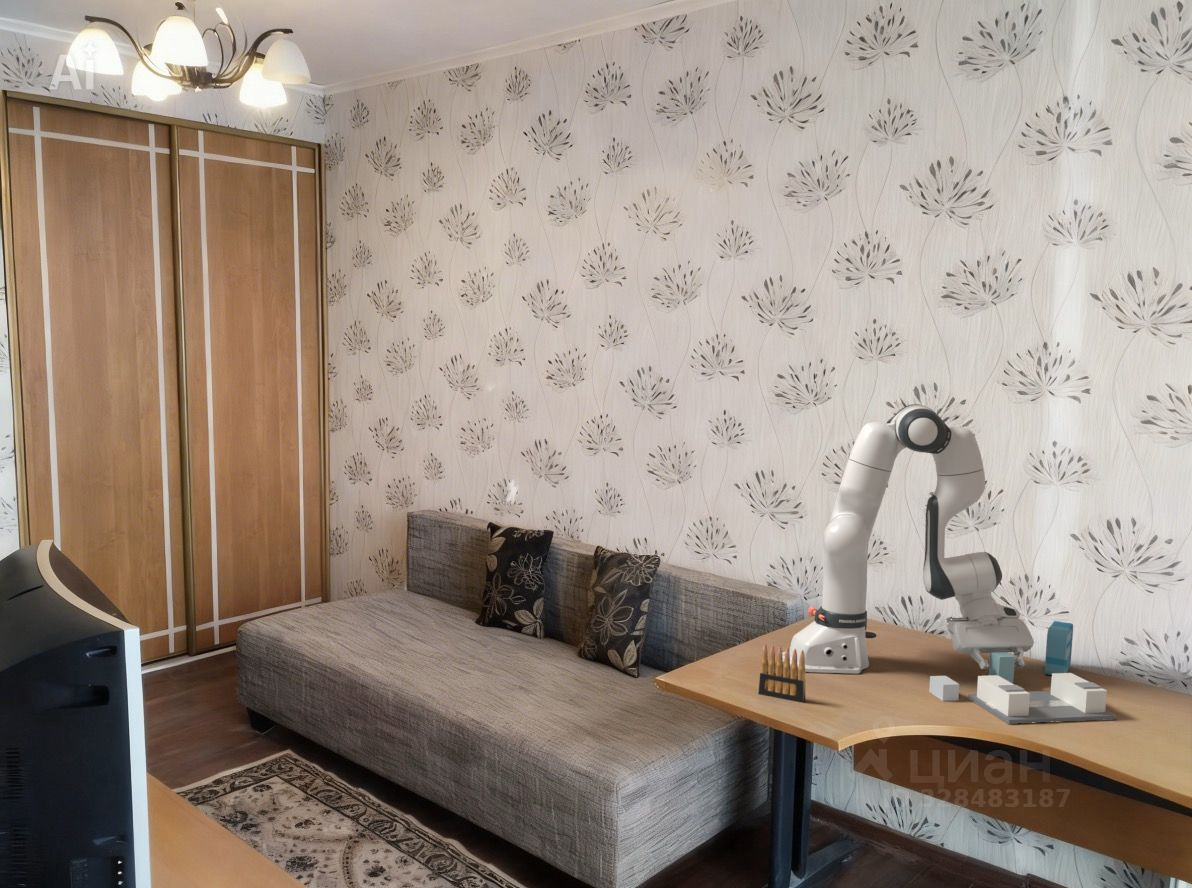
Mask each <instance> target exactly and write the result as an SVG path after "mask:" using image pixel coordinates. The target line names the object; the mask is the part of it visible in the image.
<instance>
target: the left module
mask: <svg viewBox="0 0 1192 888" xmlns="http://www.w3.org/2000/svg"><path fill="white" fill-rule="evenodd" d="M1028 692H1029V691H1026V690H1025V688H1023V687H1022V686H1020V685H1017V684H1014V683H1013V684H1012V683H1010V682H1009V681H1007V680H1005V679H1003V678H1002V677H1000V676H998V675H992V676H989V675H978V676H977V689H976V694H977V697H978V698H979V699H981V700H982V701H984V702H986V703H988V704H990V705H991V706H993V707H994V708H996V709H997V710H998V711H1000V712H1002V713H1003V714H1005V715H1006V716H1028V714H1029V699H1030V693H1028Z"/></svg>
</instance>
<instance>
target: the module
mask: <svg viewBox="0 0 1192 888" xmlns="http://www.w3.org/2000/svg"><path fill="white" fill-rule="evenodd" d="M1015 660H1016V656H1015V655H1014V654H1013V655H1012V654H1011V653H1010V652H990V653H989V667H988V676H992V675H998V676H1000V677H1002V678H1003V679H1005V680H1007V681H1009V682H1010V683H1012V684H1014V676H1015Z"/></svg>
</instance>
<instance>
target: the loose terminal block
mask: <svg viewBox="0 0 1192 888" xmlns="http://www.w3.org/2000/svg"><path fill="white" fill-rule="evenodd" d="M928 687H929V690H928V691H929V693H930V694H931V693H932V695H933V696H935V697H936V698H938V699H939V700H941V702H949V701H950V702H951V701H953V702H955V701H959V695H960V683H958V682H957V681H955V680H954V679H951V678H950V677H949V676H946V675H929V686H928Z"/></svg>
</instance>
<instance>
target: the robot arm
mask: <svg viewBox="0 0 1192 888" xmlns="http://www.w3.org/2000/svg"><path fill="white" fill-rule="evenodd" d="M904 449H909V450H911V451H913V452H915V453H925V454H931V455H932V457H933V461H934V463H935V471H936V476H937V477H936V478H937V479H936V487H935V490H934V492H933V495H931V496H930V497H929V498H928V499H927V503H926V509H925V510H926V511H925V531H924V532H925V536H924V539H925V540H924V562H923V570H922V580H923V581H922V582H923V585H924V589H925V591H926V592H927V593H928V594H929V595H931V596H933V597H935V598H936V599H938V600H942V601H943V600H946V599H950V598H954V599H955V600H956V601H957V602H958V605H959V612H960V614H961V616H962V617H950V618H949V619H948V620H947V621H946V627H947V629H948V631H949V634H950V636H949V637H950V639H951V644H952V647H953V649H954V651H955V653H957V654H958V655H964V654H965V655H967V654H969V655H970V658H972V659H973V660H974V662H976V663H977V664H978V666H979V668H980V670H987V669H989V664H990V662H988V661H989V660H988V659H984V658H983V656H981V654H990V652H1007V653H1013V656H1015V657H1016V658H1015V665H1014V667H1015V668H1017V669H1020V668H1023V667H1024V666H1025V662H1024V659H1023V658H1024V653H1025V652H1029V650H1031V649H1032V648H1033V646H1034V644H1035V641H1034V638H1033V636H1032V634H1031V631H1030V630H1029V628H1028V626H1027V624H1026V623H1025V621H1023V620H1022V619H1021V618H1020V617H1021V614H1020V611H1019V610H1018V609H1016V608H1012V607H1008V606H1006V605H1002V604H1000V603H997V602H996V600H995V599H994V597H993V596H992V592H995V590H996V589H997V587H998V586H999V585H1000V583H1001V581H1002V579H1003V572H1002V570H1001V569H1002V568H1001V567H1000V565H999V562H998V560H997V558H995V557H994V556H993V555H992V554H991V553H989V552H987V551H977V552H972V553H967V554H966V553H965V554H963V555H957V556H950V557H945V544H946V543H945V541H946V540H945V539H946V537H945V536H946V535H945V534H946V526H947V524H948V523H949V521H951V520H952V519H953V518H954V517H955V516H956V515H959V513H961V512H963V511H964V510H966V509H968V508H969V507H971V506H973V505H974V504H975V503H977V502H978V500H980V498H981V497H982V495H983V494H984V491H985V490H986V474H985V469H984V464H983V462H984V461H983V459H982V454H981V451H980V447H979V444H978V441H977V438H976V436H975V434H974V433H973V431H972V430H970V429H968V428H966V427H962V426H951V427H949V426H948V425H947V424H946V423H945V421H944V420H943V419H942V418H941V417H940V416H939V415H938V414H937V412H935V410H934V409H932V408H931V407H929V406H926V405H922V404H918V403H915V404H913V403H912V404H908V405H906V406H904V407H902V408H901V409H900V410H898V411H897V412H896V413H895V414H894V415H893V416H892V417H890V419H888V420H887V421H886V422H883V421H872V422H871V421H870V422H868V423H865V425H863V427H862V428H861V430H860V431H859V433H858V435H857V437H856V439H855V441H854V443H853V446H852V447H851V451H850V453H849V456H848V458H847V462H846V464H845V469H844V471H843V475H842V478H841V482H840V484H839V488H838V492H837V495H836V498H835V502H834V505H833V508H832V512H831V516H830V518H829V521H828V524H827V525H826V527H825V529H824V532H823V534H822V593H821V594H822V595H821V597H822V598H821V606H820V607H819V608H818V609H816V608H814V607H813V606H809V608H808V609H807V613H808V614H809V615H811V616H812V617H814V620H813V621H812V622H811V623H809V624H808V625H806V626H805V627H803V628H802V629H801V630H800V631H798V632H797V633H795V634H794V635H793V636H792V639H791V641H790V647H789V652H790V668H791V664H792V655H793V651H794V649H796V651H797V665H798V667H799V660H800V654H801V651H802V650H803V651H804V655H805V673H824V674H825V673H827V674H834V673H835V674H861V672H862V670H864V669H865V670H866V669H867V668H869V667H870V661H869V657H868V651H867V644H866V630H867V627H868V610H866V609H867V608H866V605H867V590H868V588H867V587H868V554H869V542H870V538H871V536H872V532H873V528H874V526H875V523H876V519H877V517H878V513H879V511H880V507H881V505H882V502H883V499H884V496H885V493H886V490H887V487H888V484H889V481H890V478H891V474H892V472H893V468H894V466H895V465H894V464H895V462H896V459H897V458H898V455H899V453H901V452H902V451H903V450H904ZM785 652H786V651H782V658H783V663H784V659H785Z"/></svg>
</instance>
